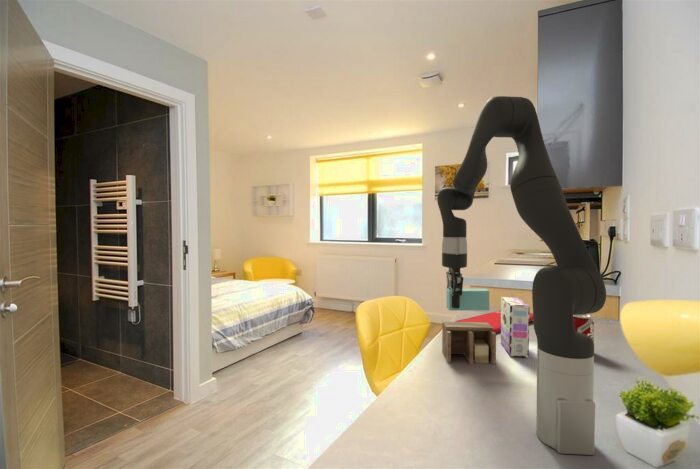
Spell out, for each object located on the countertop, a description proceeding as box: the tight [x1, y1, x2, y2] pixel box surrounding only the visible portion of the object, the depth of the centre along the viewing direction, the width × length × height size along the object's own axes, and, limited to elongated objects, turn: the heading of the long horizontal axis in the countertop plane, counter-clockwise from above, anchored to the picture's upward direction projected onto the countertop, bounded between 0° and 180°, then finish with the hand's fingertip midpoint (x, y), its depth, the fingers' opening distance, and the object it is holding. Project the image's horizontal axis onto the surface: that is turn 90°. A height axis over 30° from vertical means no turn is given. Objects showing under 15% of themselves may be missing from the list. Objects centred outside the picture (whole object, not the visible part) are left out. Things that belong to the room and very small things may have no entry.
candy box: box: [500, 296, 530, 359], centre depth 117 cm, size 14×6×16 cm, turn 168°
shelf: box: [441, 321, 497, 365], centre depth 110 cm, size 9×14×10 cm, turn 85°
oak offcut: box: [473, 340, 489, 363], centre depth 110 cm, size 6×4×5 cm, turn 176°
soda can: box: [573, 314, 595, 343], centre depth 115 cm, size 7×7×12 cm
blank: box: [446, 288, 490, 311], centre depth 111 cm, size 12×4×6 cm, turn 87°
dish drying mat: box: [454, 309, 533, 334], centre depth 147 cm, size 16×41×4 cm, turn 125°
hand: (454, 306), depth 111 cm, fingers closed on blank, 4 cm apart
